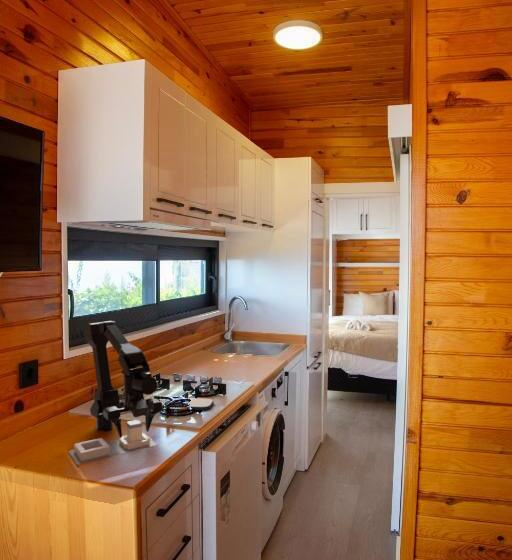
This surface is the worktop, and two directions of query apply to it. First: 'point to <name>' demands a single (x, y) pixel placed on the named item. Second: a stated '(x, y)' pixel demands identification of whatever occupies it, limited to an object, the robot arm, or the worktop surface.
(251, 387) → the worktop surface
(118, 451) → the panel
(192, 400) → the external hard drive
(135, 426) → the plug
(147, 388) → the robot arm
